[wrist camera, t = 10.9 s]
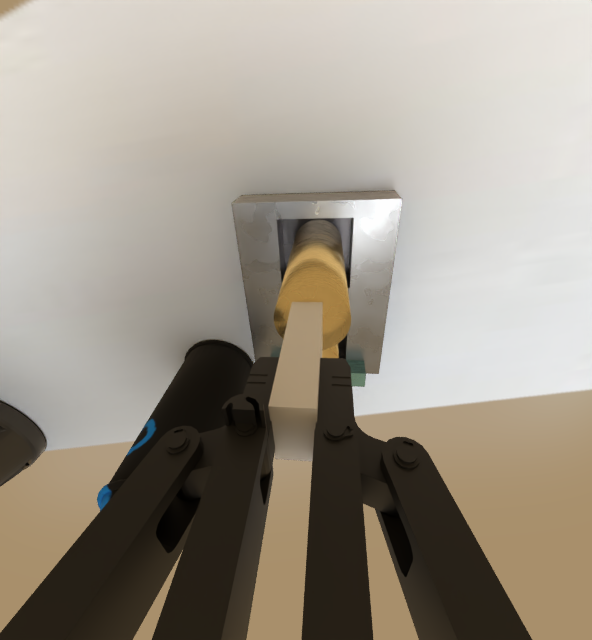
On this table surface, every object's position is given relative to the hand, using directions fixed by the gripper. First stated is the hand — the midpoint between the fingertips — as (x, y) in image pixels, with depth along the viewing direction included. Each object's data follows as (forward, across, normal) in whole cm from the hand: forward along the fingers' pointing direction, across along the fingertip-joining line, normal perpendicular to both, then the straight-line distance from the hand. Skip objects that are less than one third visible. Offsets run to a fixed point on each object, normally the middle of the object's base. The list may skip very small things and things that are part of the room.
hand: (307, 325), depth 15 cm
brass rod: (+13, 0, 0) cm, 13 cm away
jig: (+13, 0, -4) cm, 13 cm away
